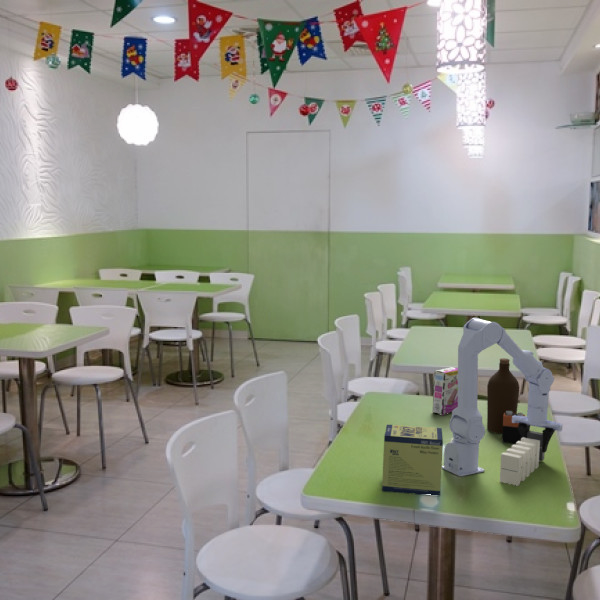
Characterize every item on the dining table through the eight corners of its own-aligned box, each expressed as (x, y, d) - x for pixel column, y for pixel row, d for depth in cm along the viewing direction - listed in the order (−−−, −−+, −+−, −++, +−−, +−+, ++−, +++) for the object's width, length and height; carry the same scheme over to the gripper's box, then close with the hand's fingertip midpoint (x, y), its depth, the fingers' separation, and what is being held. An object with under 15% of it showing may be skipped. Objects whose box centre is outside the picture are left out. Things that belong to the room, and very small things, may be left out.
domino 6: (536, 468, 202) (537, 442, 201) (519, 464, 205) (520, 438, 204) (538, 466, 204) (540, 440, 203) (521, 463, 206) (523, 437, 205)
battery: (502, 438, 229) (503, 409, 228) (523, 441, 227) (525, 411, 226) (501, 442, 225) (503, 412, 224) (523, 445, 223) (525, 415, 222)
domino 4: (531, 472, 199) (533, 446, 198) (514, 469, 201) (516, 442, 200) (534, 470, 200) (535, 444, 199) (517, 467, 203) (518, 440, 202)
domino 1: (517, 486, 188) (519, 457, 187) (499, 481, 191) (501, 454, 190) (519, 483, 190) (521, 455, 189) (502, 479, 193) (503, 452, 192)
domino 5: (527, 455, 211) (528, 430, 210) (544, 459, 208) (545, 433, 207) (525, 457, 209) (526, 432, 208) (542, 461, 206) (543, 435, 205)
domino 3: (527, 477, 195) (528, 449, 194) (509, 473, 198) (511, 446, 197) (529, 475, 197) (531, 447, 196) (512, 471, 200) (513, 444, 199)
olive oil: (505, 436, 231) (509, 363, 228) (478, 429, 239) (482, 358, 236) (523, 431, 238) (527, 360, 235) (497, 423, 246) (500, 354, 243)
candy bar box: (443, 416, 255) (444, 372, 253) (431, 413, 258) (433, 370, 256) (460, 410, 262) (462, 368, 260) (449, 408, 266) (451, 366, 264)
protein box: (441, 496, 180) (443, 439, 179) (381, 491, 183) (383, 435, 181) (440, 481, 191) (442, 427, 189) (383, 477, 193) (385, 423, 191)
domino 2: (522, 481, 192) (524, 453, 191) (504, 477, 195) (506, 450, 194) (524, 479, 193) (526, 451, 192) (507, 475, 196) (508, 448, 195)
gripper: (566, 407, 206) (563, 451, 207) (518, 399, 214) (515, 441, 216) (559, 412, 200) (557, 457, 202) (510, 403, 208) (508, 447, 210)
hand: (535, 449), depth 208 cm, fingers closed on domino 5, 5 cm apart
